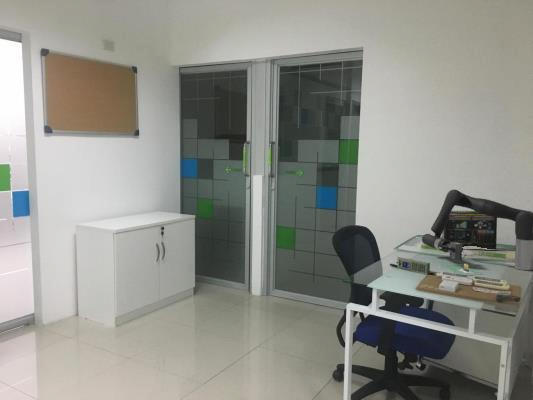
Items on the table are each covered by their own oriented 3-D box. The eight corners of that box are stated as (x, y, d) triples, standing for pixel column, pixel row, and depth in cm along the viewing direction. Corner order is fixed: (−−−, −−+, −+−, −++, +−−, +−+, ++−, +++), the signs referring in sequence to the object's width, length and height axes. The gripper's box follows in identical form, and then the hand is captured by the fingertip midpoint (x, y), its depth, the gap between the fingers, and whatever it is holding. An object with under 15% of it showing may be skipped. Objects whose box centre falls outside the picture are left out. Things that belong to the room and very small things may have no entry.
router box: (491, 248, 326) (493, 210, 324) (497, 251, 315) (499, 212, 313) (439, 246, 332) (440, 210, 329) (443, 249, 321) (444, 211, 318)
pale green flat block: (438, 266, 269) (439, 258, 268) (461, 265, 270) (461, 257, 270) (458, 275, 247) (459, 266, 246) (483, 275, 248) (483, 265, 248)
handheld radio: (426, 275, 249) (388, 267, 268) (430, 274, 251) (391, 266, 270) (427, 263, 248) (388, 255, 268) (430, 262, 251) (392, 255, 270)
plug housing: (449, 257, 267) (449, 242, 266) (455, 257, 267) (456, 242, 266) (455, 259, 260) (455, 244, 259) (461, 259, 261) (462, 243, 260)
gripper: (432, 239, 276) (446, 244, 259) (454, 238, 278) (470, 243, 261) (432, 251, 277) (446, 257, 260) (454, 250, 278) (470, 256, 261)
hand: (458, 250), depth 260 cm, fingers closed on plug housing, 3 cm apart
